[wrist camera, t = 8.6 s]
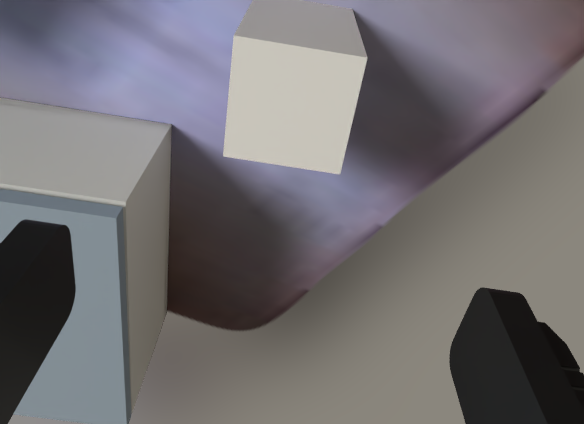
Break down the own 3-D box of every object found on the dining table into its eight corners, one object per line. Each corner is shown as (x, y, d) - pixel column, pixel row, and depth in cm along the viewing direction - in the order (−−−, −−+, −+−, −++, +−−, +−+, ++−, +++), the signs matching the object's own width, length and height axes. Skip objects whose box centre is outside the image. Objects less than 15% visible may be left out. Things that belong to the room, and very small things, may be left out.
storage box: (-138, 76, 26) (-290, 140, 20) (171, 124, 27) (125, 201, 20) (-73, 279, 34) (-168, 376, 27) (166, 312, 35) (131, 413, 28)
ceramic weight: (256, -8, 23) (234, 35, 17) (352, 8, 24) (367, 57, 17) (246, 86, 26) (223, 156, 19) (333, 100, 26) (340, 174, 19)
